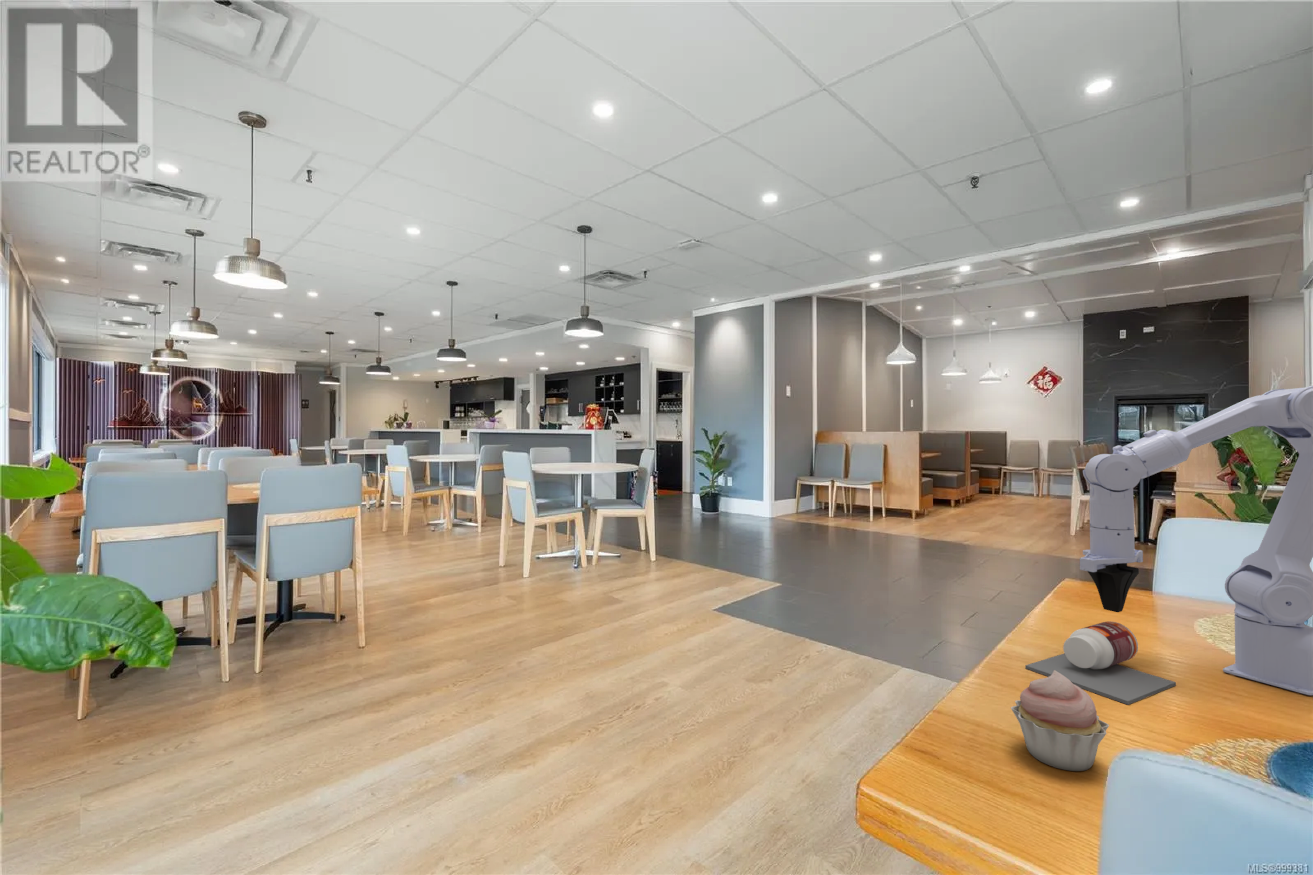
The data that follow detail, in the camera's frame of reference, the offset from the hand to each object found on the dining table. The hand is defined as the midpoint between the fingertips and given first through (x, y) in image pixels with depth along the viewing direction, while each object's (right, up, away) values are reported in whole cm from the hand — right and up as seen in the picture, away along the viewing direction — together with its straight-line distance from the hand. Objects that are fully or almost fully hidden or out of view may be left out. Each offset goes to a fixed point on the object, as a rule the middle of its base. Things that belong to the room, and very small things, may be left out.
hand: (1112, 610), depth 94 cm
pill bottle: (+1, -5, 0) cm, 5 cm away
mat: (-7, -9, -6) cm, 12 cm away
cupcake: (-28, -9, -27) cm, 40 cm away
